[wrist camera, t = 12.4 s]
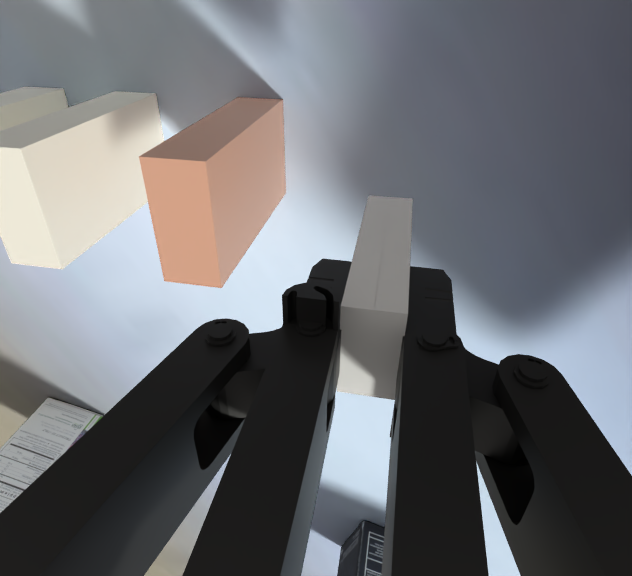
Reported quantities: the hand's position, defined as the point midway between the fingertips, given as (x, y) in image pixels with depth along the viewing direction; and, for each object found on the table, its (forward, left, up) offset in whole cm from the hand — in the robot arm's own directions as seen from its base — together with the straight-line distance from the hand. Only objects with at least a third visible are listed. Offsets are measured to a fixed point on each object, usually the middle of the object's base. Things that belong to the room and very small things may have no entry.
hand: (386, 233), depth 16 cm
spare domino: (+7, 0, -9) cm, 12 cm away
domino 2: (+14, 0, -9) cm, 17 cm away
